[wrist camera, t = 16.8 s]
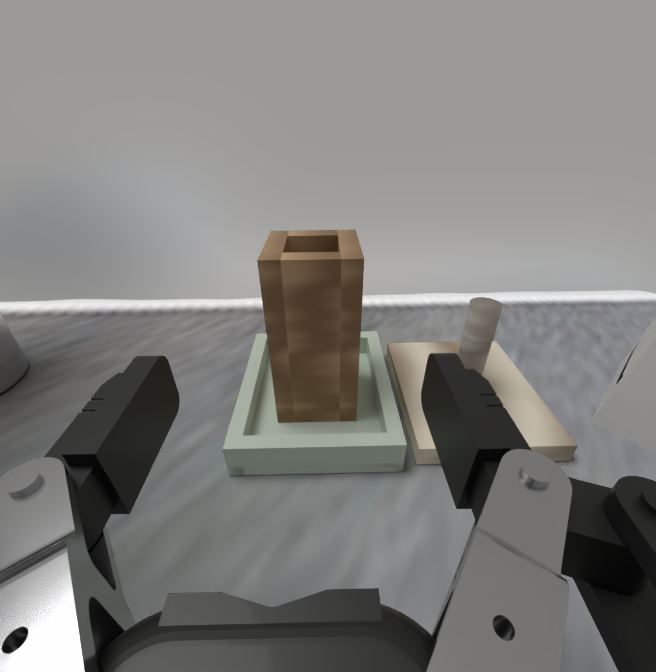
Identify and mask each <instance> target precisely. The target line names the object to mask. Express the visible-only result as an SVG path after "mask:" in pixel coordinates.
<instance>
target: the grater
mask: <svg viewBox="0 0 656 672" xmlns="http://www.w3.org/2000/svg"><path fill="white" fill-rule="evenodd" d="M625 364H627V366H626V368H625V370H624V373H623V375H624V376H623V377H622V378H621V380H620V381H619V382H618V383H617V381H618V378H619V376H620V374H621V372H622V370H623V368H624V366H625ZM616 383H617V384H616ZM591 424H593V425H595V426H598V427H600V428H602V429H604V430H606V431H609V432H611V433H613V434H615V435H617V436H619V437H622V438H624V439H626V440H628V441H630V442H633V443H635V444H637V445H639V446H641V447H643V448H646V449H648V450H650V451H652V452H654V453H656V318H655V319H654V320H653V322H652V323H651V324H650V325H649V327H648V328H647V329H646V331H645V332H644V333H643V335H642V336H641V337H640V339H639V340H638V341H637V343H636V344H635V345H634V346H633V348H632V349H631V350H630V352H629V353H628V354H627V356H626V357H625V358H624V360H623V361H622V362H621V364H620V366H619V368H618V370H617V372H616V374H615V376H614V378H613V380H612V382H611V384H610V386H609V387H608V389H607V391H606V393H605V395H604V397H603V399H602V401H601V403H600V405H599V407H598V409H597V411H596V413H595V415H594V417H593V419H592V421H591Z"/></svg>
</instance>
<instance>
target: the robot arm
mask: <svg viewBox="0 0 656 672" xmlns="http://www.w3.org/2000/svg"><path fill="white" fill-rule="evenodd" d="M27 368H28V361H27V358H26V357H25V355H24V353H23V352H22V350H21V348H20V347H19V345H18V343H17V342H16V340H15V338H14V337H13V335H12V333H11V331H10V330H9V328H8V326H7V324H6V323H5V321H4V319H3V318H2V316H1V314H0V393H2V392H3V391H5V390H7V389H8V388H9V387H11V386H12V385H13V384H15V383H16V382H17V381H18V380H19V379H20V378H21V377H22V376H23V375H24V373H25V372H26V370H27ZM421 404H422V409H423V413H424V416H425V419H426V421H427V424H428V427H429V430H430V433H431V436H432V439H433V442H434V445H435V448H436V450H437V453H438V456H439V459H440V462H441V465H442V468H443V471H444V474H445V477H446V480H447V482H448V485H449V488H450V491H451V494H452V497H453V500H454V503H455V506H456V509H472V512H473V514H474V517H475V522H474V524H473V527H472V530H471V532H470V535H469V538H468V540H467V543H466V546H465V548H464V551H463V554H462V556H461V559H460V562H459V565H458V567H457V570H456V573H455V575H454V578H453V581H452V583H451V586H450V589H449V591H448V594H447V596H446V599H445V601H444V604H443V606H442V609H441V611H440V614H439V617H438V619H437V622H436V624H435V627H434V630H433V632H432V635H431V634H430V633H429V632H428V631H427V630H425V629H424V628H423V627H422V626H420V625H419V624H418V623H417V622H415V621H414V620H413V619H411V618H409V617H408V616H406V615H405V614H403V613H401V612H399V611H397V610H395V609H393V608H390V607H388V606H385V605H382V604H380V597H379V589H378V588H376V589H333V590H325V591H322V592H319V593H316V594H313V595H310V596H307V597H304V598H301V599H298V600H295V601H292V602H289V603H286V604H283V605H280V606H277V607H267V606H263V605H260V604H257V603H254V602H251V601H247V600H244V599H241V598H238V597H234V596H231V595H228V594H225V593H221V592H204V593H168V596H167V599H166V602H165V605H164V608H163V611H161V612H158V613H156V614H154V615H152V616H150V617H148V618H145V619H143V620H142V621H140V622H138V623H137V624H135V621H134V619H133V616H132V614H131V612H130V610H129V607H128V605H127V603H126V600H125V598H124V594H123V591H122V587H121V583H120V579H119V575H118V571H117V566H116V562H115V558H114V554H113V550H112V546H111V542H110V538H109V534H108V531H107V529H106V527H105V525H106V523H107V521H108V519H109V517H110V515H111V514H130V512H131V510H132V507H133V505H134V503H135V501H136V499H137V497H138V495H139V493H140V491H141V489H142V486H143V484H144V482H145V480H146V478H147V476H148V474H149V472H150V470H151V467H152V465H153V463H154V461H155V459H156V457H157V455H158V453H159V451H160V449H161V446H162V444H163V442H164V440H165V438H166V436H167V434H168V432H169V430H170V428H171V425H172V423H173V421H174V419H175V417H176V415H177V412H178V409H179V393H178V390H177V387H176V384H175V381H174V378H173V375H172V371H171V368H170V365H169V362H168V360H167V358H166V357H165V356H137V357H135V358H134V359H133V361H132V362H131V363H130V365H129V366H128V367H127V369H126V370H125V371H124V372H123V373H118V374H116V375H115V376H114V377H112V378H111V379H110V380H108V381H107V382H105V383H104V384H103V385H101V387H100V388H99V389H98V390H97V392H96V393H95V394H94V395H93V397H92V398H91V401H89V402H88V403H87V404H86V405H85V407H84V408H83V409H82V413H79V414H78V415H77V417H76V418H75V419H74V420H73V422H72V423H71V424H70V425H69V427H68V428H67V429H66V430H65V432H64V433H63V434H62V435H61V437H60V438H59V439H58V440H57V442H56V443H55V444H54V445H53V447H52V448H51V449H50V450H49V452H48V453H47V454H46V455H45V457H43V458H37V459H34V460H30V461H28V462H25V463H23V464H21V465H19V466H17V467H15V468H13V469H11V470H10V471H8V472H7V473H6V474H4V475H3V476H2V477H1V478H0V672H560V667H561V658H562V650H563V642H564V633H565V625H566V617H567V608H568V599H569V585H568V582H567V580H566V579H564V578H563V577H561V574H563V575H566V576H569V577H572V578H573V579H574V581H575V583H576V585H577V587H578V589H579V591H580V594H581V596H582V598H583V600H584V602H585V604H586V606H587V608H588V610H589V612H590V614H591V616H592V618H593V620H594V622H595V624H596V626H597V628H598V630H599V632H600V634H601V636H602V638H603V641H604V643H605V645H606V647H607V649H608V651H609V653H610V655H611V657H612V659H613V661H614V663H615V665H616V667H617V669H618V671H619V672H656V482H655V481H653V480H650V479H647V478H643V477H638V476H626V477H623V478H621V479H619V480H618V481H617V482H616V484H615V485H614V486H613V488H608V487H604V486H600V485H596V484H592V483H588V482H584V481H580V480H576V479H573V478H570V477H568V476H567V475H566V473H565V472H564V471H563V470H562V468H561V467H560V466H558V465H557V464H556V463H555V462H554V461H552V460H551V459H549V458H548V457H546V456H544V455H542V454H540V453H537V452H535V451H532V450H531V448H530V447H529V445H528V443H527V442H526V440H525V439H524V437H523V435H522V434H521V432H520V431H519V429H518V427H517V426H516V424H515V423H514V421H513V419H512V418H511V416H510V415H509V413H508V411H507V410H506V408H505V407H503V403H502V402H501V400H500V399H499V397H498V396H496V392H495V391H494V389H493V388H492V386H491V384H490V383H489V381H488V380H487V379H486V378H484V377H483V376H482V375H481V374H479V373H478V372H477V371H476V370H475V369H466V368H465V367H464V365H463V363H462V361H461V360H460V358H459V356H458V355H457V354H456V353H430V354H429V356H428V360H427V365H426V370H425V375H424V380H423V385H422V390H421Z"/></svg>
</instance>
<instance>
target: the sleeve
mask: <svg viewBox="0 0 656 672" xmlns="http://www.w3.org/2000/svg"><path fill="white" fill-rule="evenodd" d="M257 261H258V269H259V277H260V284H261V293H262V301H263V309H264V317H265V325H266V333H267V341H268V349H269V357H270V365H271V373H272V381H273V388H274V396H275V404H276V412H277V420H278V423H290V422H347V421H356V419H357V398H358V377H359V355H360V334H361V313H362V291H363V270H364V257H363V254H362V250H361V247H360V244H359V240H358V237H357V234H356V230H309V231H271V232H270V234H269V236H268V239H267V241H266V243H265V245H264V247H263V250H262V252H261V254H260V256H259V258H258V260H257Z"/></svg>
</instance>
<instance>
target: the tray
mask: <svg viewBox="0 0 656 672" xmlns="http://www.w3.org/2000/svg"><path fill="white" fill-rule="evenodd" d="M406 448H407V443H406V440H405V436H404V432H403V428H402V425H401V421H400V417H399V413H398V409H397V406H396V402H395V398H394V394H393V391H392V387H391V383H390V379H389V375H388V372H387V368H386V364H385V360H384V357H383V353H382V349H381V345H380V341H379V338H378V334H377V331H371V332H361V334H360V355H359V377H358V398H357V419H356V421H347V422H290V423H278V420H277V412H276V404H275V396H274V388H273V381H272V373H271V365H270V357H269V349H268V341H267V333H265V334H257V335H256V338H255V342H254V345H253V348H252V352H251V355H250V358H249V362H248V365H247V369H246V372H245V375H244V379H243V382H242V385H241V389H240V392H239V395H238V399H237V402H236V406H235V409H234V412H233V416H232V419H231V422H230V426H229V429H228V432H227V436H226V439H225V443H224V446H223V453H224V457H225V460H226V464H227V468H228V472H229V476H230V475H274V474H318V473H361V472H403V466H404V460H405V454H406Z"/></svg>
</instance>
